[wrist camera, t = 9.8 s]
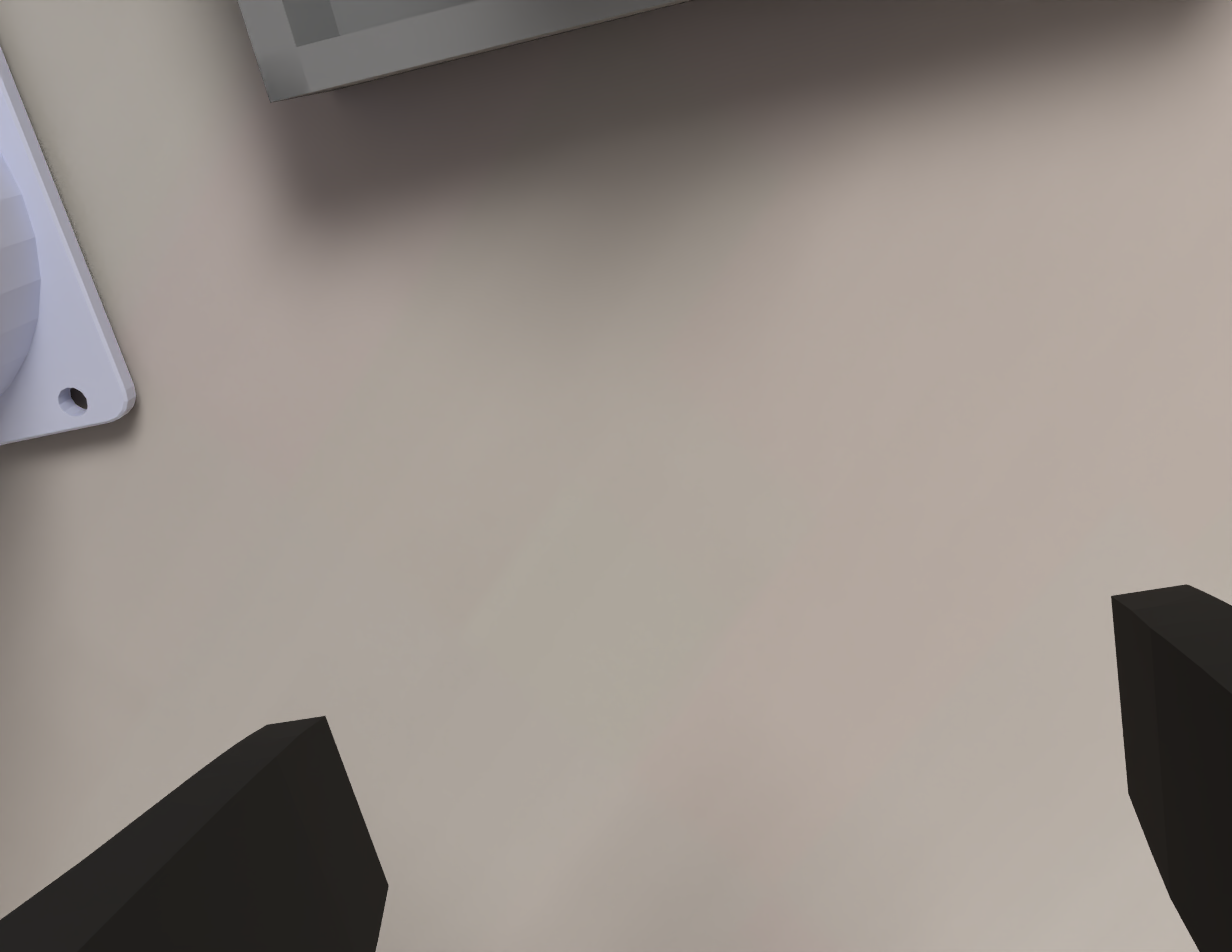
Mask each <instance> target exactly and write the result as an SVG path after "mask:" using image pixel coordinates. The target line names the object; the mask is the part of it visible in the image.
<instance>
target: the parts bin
mask: <svg viewBox="0 0 1232 952" xmlns="http://www.w3.org/2000/svg"><path fill="white" fill-rule="evenodd" d="M237 1H238V4H239V7H240V10H241V13H242V16H243V19H244V22H245V25H246V29H247V32H248V35H249V38H250V41H251V44H252V47H253V50H254V53H255V56H256V60H257V63H258V66H259V69H260V72H261V75H262V78H263V81H264V84H265V88H266V91H267V94H268V97H269V100H270V103H271V102H276V101H281V100H286V99H291V98H297V97H302V96H307V95H312V94H317V93H322V92H327V91H332V90H336V89H340V88H344V87H347V86H351V85H355V84H359V83H363V82H367V81H371V80H375V79H379V78H383V77H387V76H391V75H395V74H399V73H403V72H407V71H411V70H415V69H419V68H423V67H427V66H431V65H435V64H439V63H443V62H447V61H451V60H455V59H459V58H463V57H467V56H471V55H475V54H479V53H483V52H487V51H491V50H495V49H499V48H503V47H507V46H511V45H515V44H519V43H523V42H527V41H531V40H535V39H539V38H543V37H547V36H551V35H555V34H559V33H563V32H567V31H571V30H575V29H579V28H583V27H587V26H591V25H595V24H599V23H603V22H607V21H611V20H615V19H619V18H623V17H627V16H631V15H635V14H639V13H643V12H647V11H651V10H655V9H659V8H663V7H667V6H671V5H675V4H679V3H683V2H687V1H691V0H237Z"/></svg>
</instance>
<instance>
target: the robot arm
mask: <svg viewBox="0 0 1232 952" xmlns="http://www.w3.org/2000/svg"><path fill="white" fill-rule="evenodd" d="M71 388H75V389H77V390H79V391H81V392H82V393H83V395H84V396H85V397H86V399H87V405H88V408H87V409H83V408H81V407H79V406H78V405H76V404H75V402H74V401H73V400H72V398H71V393H70V389H71ZM135 399H136V392H135V387H134V384H133V381H132V378H131V376H130V373H129V371H128V368H127V366H126V363H125V361H124V358H123V356H122V353H121V351H120V348H119V345H118V343H117V340H116V338H115V335H114V333H113V330H112V328H111V325H110V323H109V320H108V318H107V315H106V313H105V310H104V307H103V305H102V302H101V300H100V297H99V295H98V292H97V290H96V287H95V285H94V282H93V280H92V277H91V275H90V272H89V269H88V267H87V264H86V262H85V259H84V257H83V254H82V252H81V249H80V247H79V244H78V242H77V239H76V237H75V234H74V231H73V229H72V226H71V224H70V221H69V219H68V216H67V214H66V211H65V209H64V206H63V204H62V201H61V199H60V196H59V193H58V191H57V188H56V186H55V183H54V181H53V178H52V176H51V173H50V171H49V168H48V166H47V163H46V161H45V158H44V155H43V153H42V150H41V148H40V145H39V143H38V140H37V138H36V135H35V133H34V130H33V128H32V125H31V122H30V120H29V117H28V115H27V112H26V110H25V107H24V105H23V102H22V100H21V97H20V95H19V92H18V90H17V87H16V84H15V82H14V79H13V77H12V74H11V72H10V69H9V67H8V64H7V62H6V59H5V57H4V54H3V52H2V49H1V46H0V445H4V444H8V443H13V442H18V441H23V440H28V439H33V438H38V437H42V436H47V435H52V434H57V433H62V432H67V431H72V430H76V429H81V428H86V427H91V426H96V425H101V424H106V423H111V422H113V421H115V420H117V419H120V418H121V417H123V416H124V415H126V414H127V413H128V412H129V411H130V410H131V409H132V407H133V406H134V404H135ZM1111 599H1112V611H1113V622H1114V634H1115V645H1116V657H1117V668H1118V680H1119V691H1120V703H1121V714H1122V726H1123V737H1124V749H1125V760H1126V771H1127V783H1128V794H1129V796H1130V799H1131V801H1132V804H1133V806H1134V809H1135V812H1136V814H1137V817H1138V819H1139V822H1140V824H1141V827H1142V829H1143V832H1144V835H1145V837H1146V840H1147V842H1148V845H1149V847H1150V850H1151V852H1152V855H1153V857H1154V860H1155V862H1156V865H1157V867H1158V869H1159V872H1160V874H1161V877H1162V879H1163V881H1164V884H1165V886H1166V889H1167V891H1168V894H1169V896H1170V898H1171V900H1172V902H1173V904H1174V906H1175V908H1176V909H1177V911H1178V913H1179V915H1180V917H1181V919H1182V920H1183V922H1184V924H1185V926H1186V928H1187V930H1188V931H1189V933H1190V935H1191V937H1192V939H1193V941H1194V942H1195V944H1196V946H1197V948H1198V950H1199V951H1200V952H1232V606H1231V605H1229V604H1227V603H1225V602H1224V601H1222V600H1220V599H1218V598H1216V597H1213V596H1211V595H1209V594H1207V593H1205V592H1203V591H1201V590H1199V589H1196V588H1194V587H1192V586H1190V585H1180V586H1174V587H1167V588H1160V589H1154V590H1147V591H1141V592H1134V593H1128V594H1121V595H1115V596H1111ZM387 891H388V883H387V880H386V878H385V875H384V872H383V870H382V867H381V864H380V862H379V859H378V856H377V853H376V851H375V848H374V845H373V843H372V840H371V837H370V835H369V832H368V829H367V827H366V824H365V821H364V819H363V816H362V813H361V811H360V808H359V805H358V803H357V800H356V797H355V794H354V792H353V789H352V786H351V784H350V781H349V778H348V776H347V773H346V770H345V768H344V765H343V762H342V760H341V757H340V754H339V752H338V749H337V746H336V744H335V741H334V738H333V735H332V733H331V730H330V727H329V725H328V722H327V719H326V717H325V716H322V717H315V718H309V719H302V720H296V721H289V722H283V723H276V724H270V725H266V726H264V727H263V728H261V729H259V730H258V731H256V732H254V733H253V734H251V735H249V736H248V737H246V738H245V739H243V740H242V741H240V742H239V743H237V744H236V745H234V746H233V747H231V748H230V749H228V750H227V751H226V752H224V753H223V754H221V755H220V756H219V757H217V758H216V759H215V760H213V761H212V762H210V763H209V764H208V765H206V766H205V767H204V768H202V769H201V770H200V771H198V772H197V773H196V774H194V775H193V776H192V777H190V778H189V779H188V780H186V781H185V782H184V783H183V784H181V785H180V786H179V787H177V788H176V789H175V790H173V791H172V792H171V793H170V794H168V795H167V796H166V797H164V798H163V799H162V800H160V801H159V802H158V803H157V804H155V805H154V806H153V807H151V808H150V809H149V810H147V811H146V812H145V813H144V814H142V815H141V816H140V817H138V818H137V819H136V820H134V821H133V822H132V823H131V824H129V825H128V826H127V827H125V828H124V829H123V830H121V831H120V832H119V833H118V834H116V835H115V836H114V837H112V838H111V839H110V840H108V841H107V842H106V843H105V844H103V845H102V846H101V847H99V848H98V849H97V850H95V851H94V852H93V853H92V854H90V855H89V856H88V857H86V858H85V859H84V860H82V861H81V862H80V863H78V864H77V865H76V866H74V867H73V868H71V869H70V870H69V871H67V872H66V873H64V874H63V875H62V876H60V877H59V878H58V879H56V880H55V881H53V882H52V883H51V884H49V885H48V886H47V887H45V888H44V889H42V890H41V891H40V892H38V893H37V894H36V895H34V896H33V897H31V898H30V899H29V900H27V901H26V902H25V903H23V904H22V905H20V906H19V907H18V908H16V909H15V910H13V911H12V912H11V913H9V914H8V915H7V916H5V917H4V918H2V919H1V920H0V952H375V951H376V946H377V942H378V937H379V932H380V927H381V922H382V917H383V912H384V906H385V901H386V896H387Z"/></svg>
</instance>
